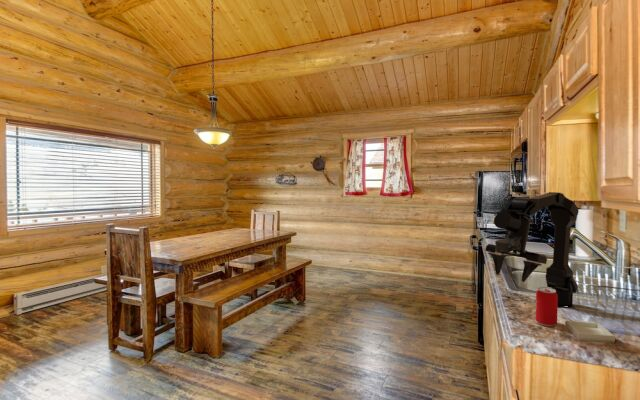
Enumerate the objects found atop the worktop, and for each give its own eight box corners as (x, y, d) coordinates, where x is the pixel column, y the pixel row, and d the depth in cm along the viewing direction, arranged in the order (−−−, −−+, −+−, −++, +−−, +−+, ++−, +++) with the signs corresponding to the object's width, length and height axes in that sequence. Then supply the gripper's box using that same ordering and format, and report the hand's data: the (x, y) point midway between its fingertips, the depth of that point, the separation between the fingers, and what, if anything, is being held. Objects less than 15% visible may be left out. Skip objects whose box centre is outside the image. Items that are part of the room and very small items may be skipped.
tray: (597, 328, 115) (597, 322, 114) (614, 342, 105) (614, 336, 105) (565, 326, 117) (565, 320, 117) (578, 339, 108) (578, 333, 108)
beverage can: (553, 320, 121) (554, 287, 120) (559, 328, 115) (560, 293, 114) (533, 318, 123) (534, 285, 122) (538, 326, 117) (539, 292, 116)
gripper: (479, 225, 124) (471, 268, 123) (532, 233, 107) (522, 283, 107) (498, 231, 129) (490, 272, 128) (551, 239, 112) (542, 286, 112)
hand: (509, 278), depth 119 cm, fingers open, 9 cm apart
